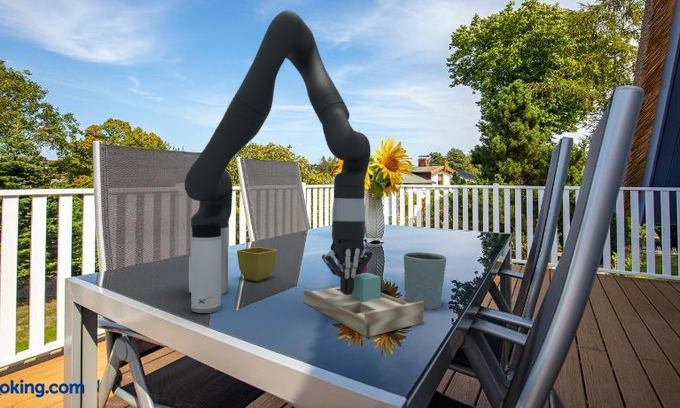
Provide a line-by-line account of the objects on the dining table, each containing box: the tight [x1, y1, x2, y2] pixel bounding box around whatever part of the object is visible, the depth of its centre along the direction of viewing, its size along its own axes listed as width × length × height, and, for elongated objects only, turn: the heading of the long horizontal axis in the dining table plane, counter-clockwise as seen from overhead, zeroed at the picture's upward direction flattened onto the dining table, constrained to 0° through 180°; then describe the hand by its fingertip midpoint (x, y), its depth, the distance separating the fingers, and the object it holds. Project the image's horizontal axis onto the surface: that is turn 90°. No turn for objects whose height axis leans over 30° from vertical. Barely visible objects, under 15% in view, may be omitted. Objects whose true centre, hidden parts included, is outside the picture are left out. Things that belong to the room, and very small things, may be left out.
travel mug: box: [190, 222, 222, 314], centre depth 82 cm, size 6×7×20 cm
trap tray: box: [303, 286, 425, 338], centre depth 83 cm, size 15×25×4 cm, turn 33°
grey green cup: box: [403, 251, 448, 311], centre depth 89 cm, size 10×10×12 cm
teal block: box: [351, 272, 382, 301], centre depth 86 cm, size 5×5×5 cm
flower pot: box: [236, 246, 278, 282], centre depth 111 cm, size 9×9×9 cm
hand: (346, 293), depth 83 cm, fingers closed
